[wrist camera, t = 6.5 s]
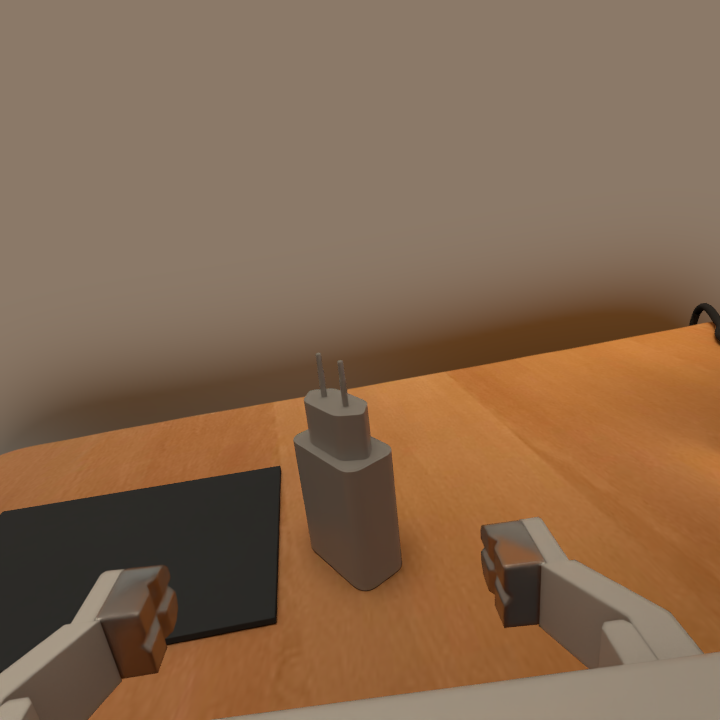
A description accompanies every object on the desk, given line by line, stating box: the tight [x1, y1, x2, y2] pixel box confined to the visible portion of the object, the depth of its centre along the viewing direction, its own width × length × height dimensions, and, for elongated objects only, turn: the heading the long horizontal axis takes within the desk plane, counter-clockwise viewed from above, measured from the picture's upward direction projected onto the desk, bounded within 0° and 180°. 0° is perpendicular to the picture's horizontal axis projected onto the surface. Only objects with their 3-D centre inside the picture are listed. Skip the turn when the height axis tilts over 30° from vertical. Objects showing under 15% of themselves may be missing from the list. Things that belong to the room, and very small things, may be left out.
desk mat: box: [0, 466, 281, 673], centre depth 29 cm, size 20×14×1 cm
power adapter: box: [294, 353, 402, 591], centre depth 25 cm, size 3×5×12 cm, turn 39°
